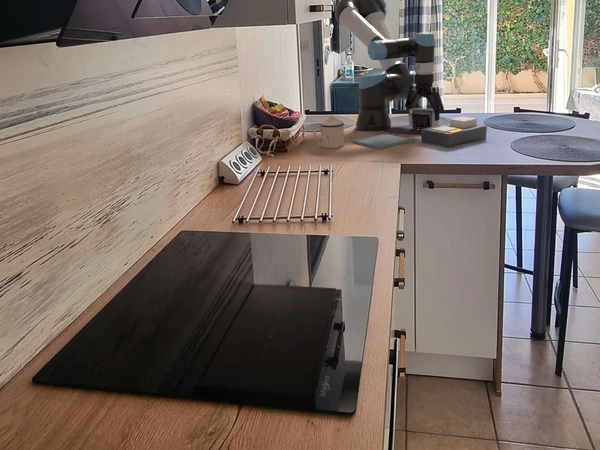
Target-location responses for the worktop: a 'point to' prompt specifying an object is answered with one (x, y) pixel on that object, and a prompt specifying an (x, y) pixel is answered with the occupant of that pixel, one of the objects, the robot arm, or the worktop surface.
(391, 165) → the worktop surface
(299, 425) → the worktop surface
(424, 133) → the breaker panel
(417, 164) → the worktop surface
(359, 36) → the robot arm
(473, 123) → the block
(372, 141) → the pad
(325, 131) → the teacup with lid
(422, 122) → the electrical switch
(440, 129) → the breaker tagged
